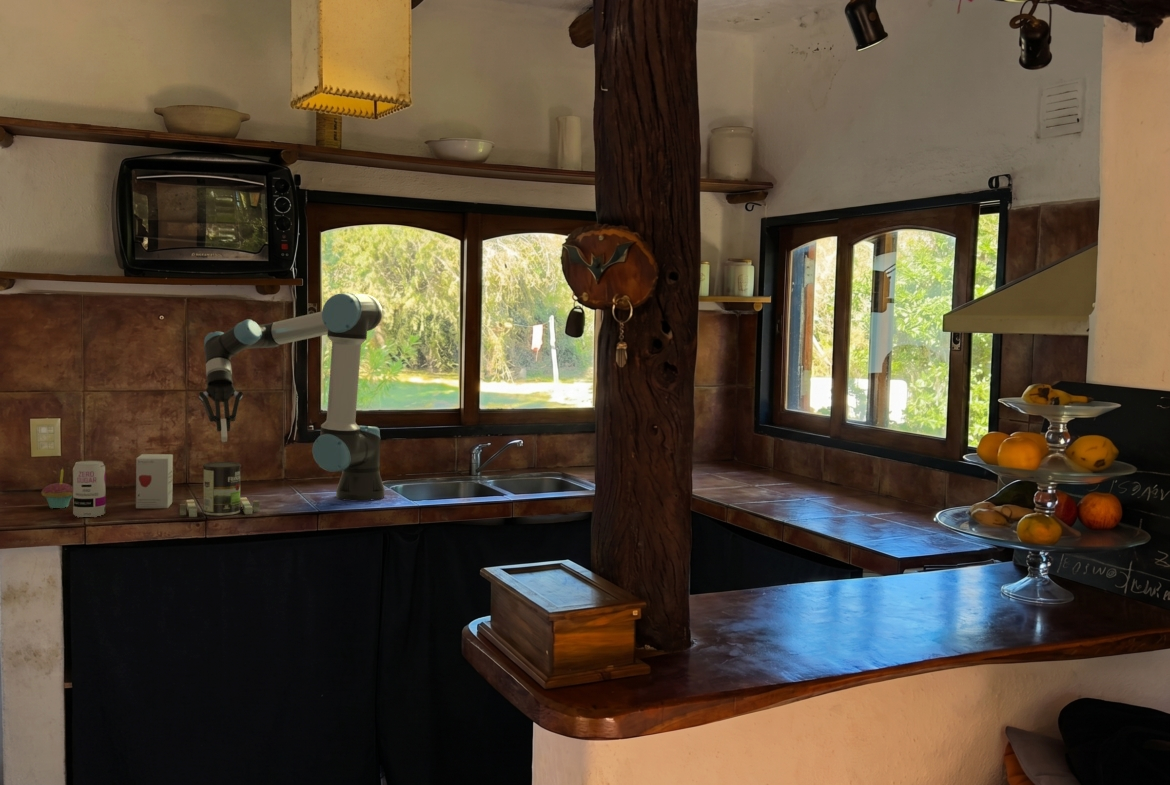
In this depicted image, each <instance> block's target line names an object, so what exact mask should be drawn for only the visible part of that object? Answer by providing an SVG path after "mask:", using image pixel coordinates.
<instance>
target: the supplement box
mask: <svg viewBox="0 0 1170 785" xmlns="http://www.w3.org/2000/svg"><path fill="white" fill-rule="evenodd" d="M135 459H136V461H135V464H136V465H135V469H136V470H135V471H136V472H135V474H136V475H135V509H169V507H170V506H171V505H172V503H173V477H174V476H173V473H174V472H173V470H174V468H173V465H174V464H173V463H174V462H173V461H174V454H170V453H169V454H166V453H165V454H162V453H152V454H151V453H150V454H148V453H141V454H140V455H139V456H138V457H136V458H135Z"/></svg>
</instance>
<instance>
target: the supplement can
mask: <svg viewBox="0 0 1170 785" xmlns="http://www.w3.org/2000/svg"><path fill="white" fill-rule="evenodd" d="M72 487H73V496H72V514H73V515H74V517H76V516H77V517H76V518H79V517H94V518H98V517H97V516H100V517H102V516H101V515H103V516H104V514H106V510H107V509H106V506H107V505H106V503H107V502H106V497H107V496H106V465H105V464H104V461H101V460H82V461H81V460H80V461H76V462H75V464H74V466H73V468H72Z"/></svg>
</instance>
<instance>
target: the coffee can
mask: <svg viewBox="0 0 1170 785" xmlns="http://www.w3.org/2000/svg"><path fill="white" fill-rule="evenodd" d="M202 467H203V510H202V511H203V515H207V516H222V517H223V516H231V515H236V514H237V515H238V514H239V513H241V506H240V498H241V467H242V464H241V463H240V462H235V461H234V462H233V461H215V462H213V461H212V462H207V463H204V464H202Z"/></svg>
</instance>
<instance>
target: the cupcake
mask: <svg viewBox="0 0 1170 785" xmlns="http://www.w3.org/2000/svg"><path fill="white" fill-rule="evenodd" d="M61 468H62V469H61V470H60V477H59V482H57V483H56V482H55V483H50V484H48V485H46V486H45V487H44V488H42V489H41V492H40V494H41V496H42V497H44V498H45V499H46V501H47V503H48V506H49V508H50V509H53V508H60V509H66V508H68V507H69V505H70V501H71V500H72V499H73V485H71V484H69V483H68V482H67V483H65V482H63V478H64V466H62V467H61ZM65 507H66V508H65Z"/></svg>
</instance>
